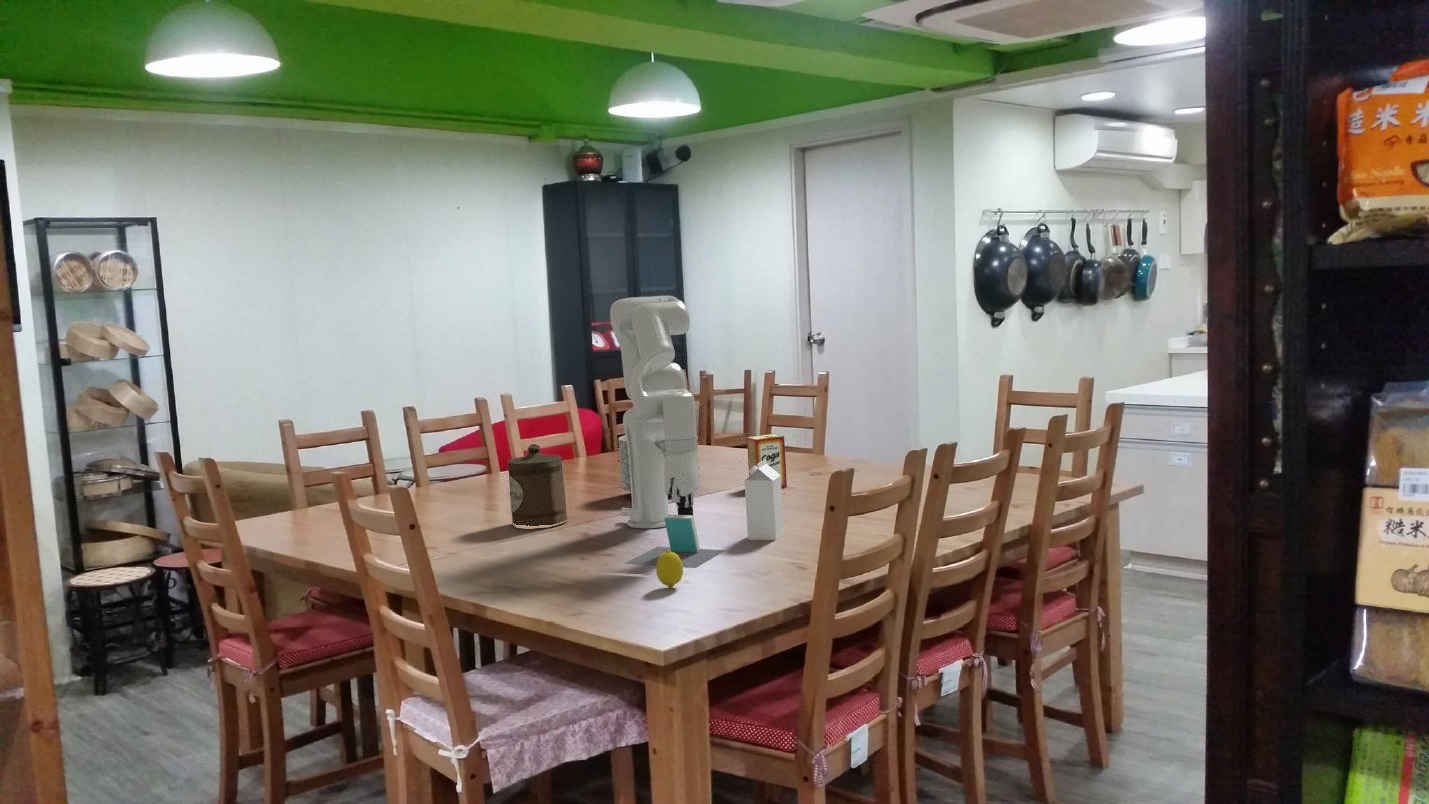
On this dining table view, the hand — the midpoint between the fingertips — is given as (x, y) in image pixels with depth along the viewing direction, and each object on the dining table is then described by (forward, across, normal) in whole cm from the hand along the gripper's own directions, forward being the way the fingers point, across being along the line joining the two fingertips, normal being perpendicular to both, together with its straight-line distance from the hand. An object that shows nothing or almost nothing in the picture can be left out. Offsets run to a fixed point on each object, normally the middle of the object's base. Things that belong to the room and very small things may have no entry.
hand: (686, 523), depth 256 cm
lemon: (+7, +28, +10) cm, 31 cm away
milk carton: (+7, -17, +13) cm, 22 cm away
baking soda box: (+7, -80, -12) cm, 81 cm away
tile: (+6, +1, 0) cm, 6 cm away
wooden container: (+7, -22, -56) cm, 61 cm away
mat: (+7, +6, 0) cm, 9 cm away
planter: (+7, -64, -43) cm, 77 cm away
